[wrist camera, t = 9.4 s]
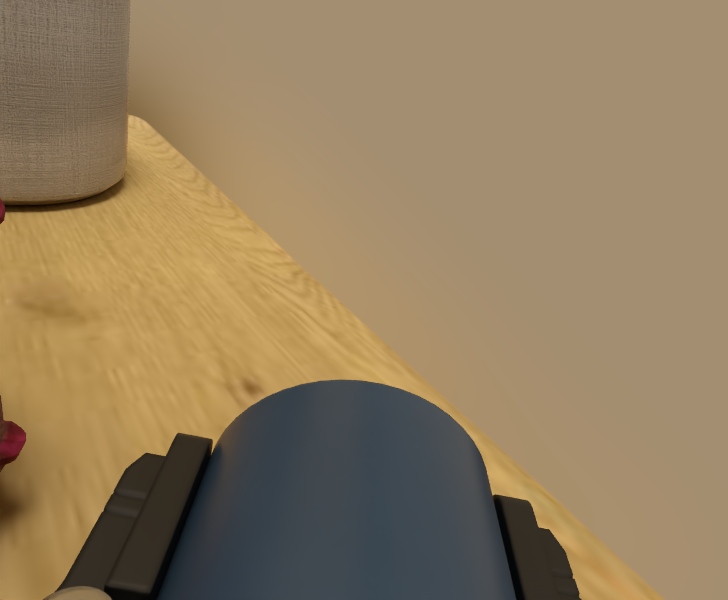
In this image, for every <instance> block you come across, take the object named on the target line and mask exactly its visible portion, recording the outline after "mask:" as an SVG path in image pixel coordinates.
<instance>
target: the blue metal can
mask: <svg viewBox="0 0 728 600" xmlns="http://www.w3.org/2000/svg"><path fill="white" fill-rule="evenodd" d="M156 600H516V596H515V592H514V587H513V583H512V579H511V574H510V570H509V566H508V561H507V557H506V553H505V548H504V544H503V540H502V535H501V531H500V527H499V522H498V518H497V514H496V509H495V505H494V501H493V496H492V492H491V488H490V483H489V479H488V475H487V470H486V467H485V464H484V461H483V459H482V456H481V454H480V452H479V450H478V448H477V447H476V445H475V443H474V441H473V440H472V439H471V437H470V436H469V435H468V434H467V432H466V431H465V430H464V429H463V428H462V427H461V426H460V425H459V424H458V423H457V422H456V421H455V420H454V419H453V418H452V417H451V416H450V415H448V414H447V413H446V412H444V411H443V410H441V409H440V408H439V407H437V406H436V405H434V404H432V403H430V402H429V401H427V400H425V399H423V398H421V397H419V396H417V395H415V394H412V393H410V392H407V391H404V390H402V389H399V388H395V387H392V386H388V385H384V384H380V383H373V382H367V381H358V380H328V381H318V382H312V383H306V384H301V385H297V386H294V387H291V388H287V389H284V390H281V391H279V392H277V393H274V394H272V395H270V396H267V397H265V398H264V399H262V400H260V401H259V402H257V403H255V404H254V405H252V406H250V407H249V408H248V409H247V410H245V411H244V412H243V413H242V414H240V415H239V416H238V417H237V418H236V419H235V420H234V421H233V422H232V423H231V424H230V425H229V426H228V427H227V428H226V429H225V431H224V432H223V434H222V435H221V437H220V438H219V440H218V441H217V443H216V445H215V448H214V450H213V452H212V454H211V457H210V460H209V462H208V465H207V467H206V470H205V473H204V475H203V478H202V481H201V483H200V486H199V488H198V491H197V494H196V496H195V499H194V502H193V504H192V507H191V509H190V512H189V515H188V517H187V520H186V523H185V525H184V528H183V530H182V533H181V536H180V538H179V541H178V544H177V546H176V549H175V551H174V554H173V557H172V559H171V562H170V565H169V567H168V570H167V572H166V575H165V578H164V580H163V583H162V586H161V588H160V591H159V593H158V596H157V599H156Z"/></svg>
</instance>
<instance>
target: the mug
mask: <svg viewBox="0 0 728 600" xmlns="http://www.w3.org/2000/svg"><path fill="white" fill-rule="evenodd" d="M5 210H6V209H5V207H4V204H3V202H2V200H1V198H0V224H1V223H2V222H3V221H4V217H5ZM25 442H26V433H25V432H24V430H23V429H22V428H21V427H19V426H18V425H16V424H15V423H14V422H12V421H5V420H3V412H2V402H1V396H0V472H1V470H2V469H3V467H4V466H5V464H8V463H11V462H12V461H14V460H15V459H16V458H17V456H18V455H19V453H20V451H21V449H22V448H23V446H24V444H25Z"/></svg>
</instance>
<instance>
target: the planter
mask: <svg viewBox="0 0 728 600" xmlns="http://www.w3.org/2000/svg"><path fill="white" fill-rule="evenodd" d="M129 26H130V0H0V198H1V200H2V202H3V204H4V205H45V204H55V203H64V202H71V201H76V200H81V199H84V198H88V197H91V196H94V195H97V194H99V193H101V192H103V191H105V190H106V189H108V188H110V187H111V186H113V185H114V184H116V183H117V182H118V181H119V180H121V179H122V178H123V176H124V174H125V169H126V164H127V138H128V78H129V76H128V74H129V29H130V28H129Z"/></svg>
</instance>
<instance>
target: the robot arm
mask: <svg viewBox="0 0 728 600" xmlns="http://www.w3.org/2000/svg"><path fill="white" fill-rule="evenodd" d="M212 443H213V440H212V439H209V438H203V437H198V436H193V435H188V434H182V433H178V434H177V435H176V436H175V438H174V440H173V442H172V444H171V446H170V449H169V451H168V453H167V455H166V456H161V455H155V454H150V453H145V454H144V455H143V456H141V457H140V458H139V459H138V460H136V461H135V462H134V463H133V464H131V465H130V466H129V467H128V468H126V470H125V471H124V473H123V475H122V477H121V479H120V480H119V482H118V484H117V486H116V488H115V490H114V493H113V494H112V495H111V497H110V499H109V500H108V502H107V504H106V506H105V508H104V511H103V512H102V513H101V515H100V517H99V518H98V520H97V522H96V524H95V526H94V527H93V529H92V531H91V533H90V535H89V537H88V538H87V540H86V542H85V544H84V546H83V547H82V549H81V551H80V553H79V555H78V556H77V558H76V560H75V562H74V564H73V565H72V567H71V569H70V571H69V573H68V574H67V576H66V578H65V580H64V581H63V583H62V584H61V585H60V587H59V588H58V589H57V590H56V591H55V592H54V593H53V594H51V595H49V596H48V597H46V598H44V599H43V600H156V599H157V596H158V593H159V591H160V588H161V586H162V583H163V580H164V578H165V575H166V572H167V570H168V567H169V565H170V562H171V559H172V557H173V554H174V551H175V549H176V546H177V544H178V541H179V538H180V536H181V533H182V530H183V528H184V525H185V523H186V520H187V517H188V515H189V512H190V509H191V507H192V504H193V502H194V499H195V496H196V494H197V491H198V488H199V486H200V483H201V481H202V478H203V475H204V473H205V470H206V467H207V465H208V462H209V460H210V457H211V451H212ZM493 501H494V505H495V509H496V514H497V518H498V522H499V527H500V531H501V535H502V540H503V544H504V548H505V553H506V557H507V561H508V566H509V570H510V574H511V579H512V583H513V587H514V592H515V596H516V600H581V599H580V598H579V591H578V588H577V585H576V582H575V579H573V573H572V570H571V567H570V564H569V561H568V558H567V556H566V553H565V551H564V549H563V548H562V546H561V545H560V544H559V542H558V541H557V540H556V538H555V537H554V535H553V534H552V533H551V531H550V530H549V529H543V528H538V525H537V521H536V518H535V515H534V512H533V508H532V506H531V504H530V502H529V501H527V500H522V499H517V498H511V497H506V496H501V495H493Z"/></svg>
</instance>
